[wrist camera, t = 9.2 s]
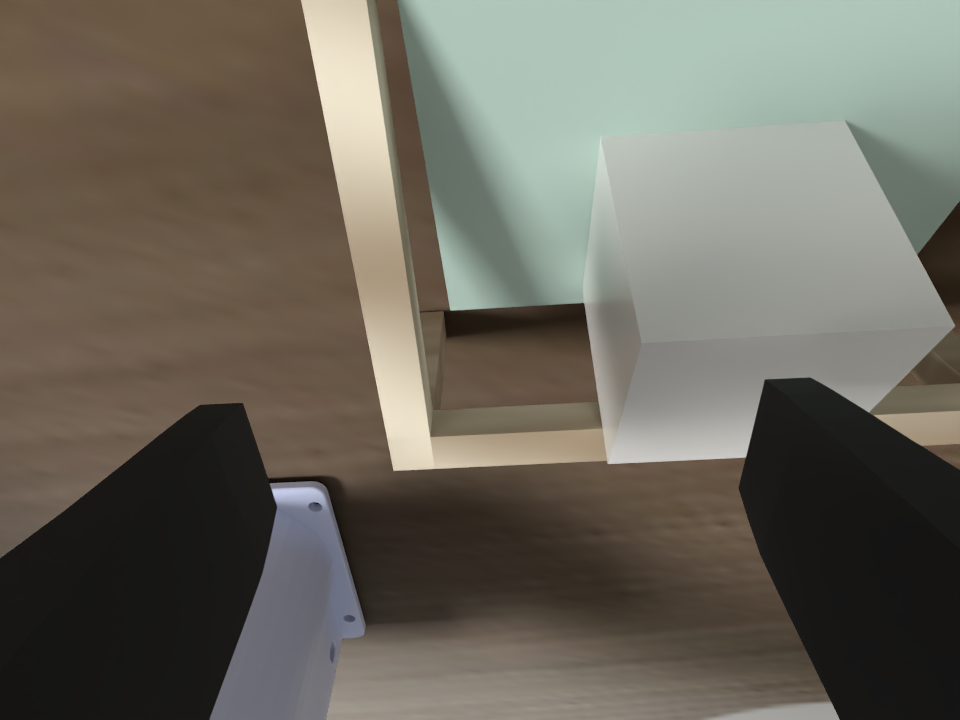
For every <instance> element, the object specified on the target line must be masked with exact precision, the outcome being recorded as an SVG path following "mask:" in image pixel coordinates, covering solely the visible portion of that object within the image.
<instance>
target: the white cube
mask: <svg viewBox="0 0 960 720" xmlns="http://www.w3.org/2000/svg"><path fill="white" fill-rule="evenodd" d="M582 290H583V297H584V304H585V310H586V317H587V324H588V331H589V338H590V345H591V352H592V359H593V365H594V372H595V379H596V386H597V393H598V400H599V407H600V414H601V420H602V427H603V434H604V441H605V448H606V455H607V462H608V464H617V463H638V462H659V461H680V460H701V459H722V458H743V457H746V455H747V451H748V447H749V443H750V439H751V435H752V430H753V426H754V422H755V418H756V414H757V410H758V405H759V401H760V397H761V393H762V389H763V385H764V380H765V379H785V378H807V377H811V378H812V379H814V380H816V381H818V382H820V383H822V384H823V385H825V386H827V387H829V388H830V389H832V390H834V391H835V392H837V393H839V394H840V395H842V396H843V397H845V398H847V399H848V400H850V401H851V402H853V403H855V404H856V405H858V406H859V407H861V408H863V409H864V410H866V411H867V412H870V411H871V410H872V409H873V408H874V407H875V406H876V405H877V404H878V403H879V402H880V401H881V400H882V399H883V398H884V397H885V396H886V395H887V394H888V393H889V392H890V391H891V390H892V389H893V388H894V387H895V386H896V385H897V384H898V383H899V382H900V381H901V380H902V379H903V378H904V377H905V376H906V375H907V374H908V373H909V372H910V371H911V370H912V369H913V368H914V367H915V366H916V365H917V364H918V363H919V362H920V361H921V360H922V359H923V358H924V357H925V356H926V355H927V354H928V353H929V352H930V351H931V350H932V349H933V348H934V347H935V346H936V345H937V344H938V343H939V342H940V341H941V340H942V339H943V338H944V337H945V336H946V335H947V334H948V333H949V332H950V331H951V330H952V329H953V328H954V327H955V325H954V323H953V321H952V319H951V317H950V315H949V313H948V312H947V310H946V308H945V306H944V304H943V302H942V300H941V298H940V297H939V295H938V293H937V291H936V289H935V287H934V285H933V284H932V282H931V280H930V278H929V276H928V274H927V272H926V271H925V269H924V267H923V265H922V263H921V261H920V259H919V258H918V256H917V254H916V252H915V250H914V248H913V246H912V244H911V243H910V241H909V239H908V237H907V235H906V233H905V231H904V230H903V228H902V226H901V224H900V222H899V220H898V218H897V217H896V215H895V213H894V211H893V209H892V207H891V205H890V204H889V202H888V200H887V198H886V196H885V194H884V192H883V190H882V189H881V187H880V185H879V183H878V181H877V179H876V177H875V176H874V174H873V172H872V170H871V168H870V166H869V164H868V163H867V161H866V159H865V157H864V155H863V153H862V151H861V150H860V148H859V146H858V144H857V142H856V140H855V138H854V136H853V135H852V133H851V131H850V129H849V127H848V125H847V123H846V122H845V120H842V121H827V122H812V123H798V124H783V125H768V126H754V127H739V128H724V129H710V130H695V131H680V132H666V133H651V134H636V135H622V136H607V137H600V146H599V154H598V162H597V171H596V179H595V187H594V195H593V204H592V212H591V220H590V229H589V237H588V245H587V254H586V262H585V270H584V278H583V287H582Z"/></svg>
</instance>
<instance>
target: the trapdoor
mask: <svg viewBox="0 0 960 720" xmlns="http://www.w3.org/2000/svg"><path fill="white" fill-rule="evenodd" d="M397 1H398V7H399V13H400V19H401V24H402V30H403V36H404V42H405V48H406V54H407V59H408V65H409V71H410V77H411V83H412V89H413V95H414V100H415V106H416V112H417V118H418V124H419V130H420V135H421V141H422V147H423V153H424V159H425V165H426V171H427V176H428V182H429V188H430V194H431V200H432V206H433V211H434V217H435V223H436V229H437V235H438V241H439V247H440V252H441V258H442V264H443V270H444V276H445V282H446V287H447V293H448V299H449V305H450V311H451V310H469V309H486V308H503V307H521V306H538V305H555V304H572V303H584V297H583V290H582V287H583V278H584V270H585V262H586V254H587V245H588V237H589V229H590V220H591V212H592V204H593V195H594V187H595V179H596V171H597V162H598V154H599V146H600V137H607V136H622V135H636V134H651V133H666V132H680V131H695V130H710V129H724V128H739V127H754V126H768V125H783V124H798V123H812V122H827V121H842V120H845V122H846V123H847V125H848V127H849V129H850V131H851V133H852V135H853V136H854V138H855V140H856V142H857V144H858V146H859V148H860V150H861V151H862V153H863V155H864V157H865V159H866V161H867V163H868V164H869V166H870V168H871V170H872V172H873V174H874V176H875V177H876V179H877V181H878V183H879V185H880V187H881V189H882V190H883V192H884V194H885V196H886V198H887V200H888V202H889V204H890V205H891V207H892V209H893V211H894V213H895V215H896V217H897V218H898V220H899V222H900V224H901V226H902V228H903V230H904V231H905V233H906V235H907V237H908V239H909V241H910V243H911V244H912V246H913V248H914V250H915V252H916V254H918V253H919V252H920V251H921V249H922V248H923V247H924V246H925V244H926V243H927V242H928V240H929V239H930V238H931V237H932V235H933V234H934V233H935V232H936V230H937V229H938V228H939V227H940V225H941V224H942V223H943V222H944V220H945V219H946V218H947V216H948V215H949V214H950V213H951V211H952V210H953V209H954V208H955V206H956V205H957V204H958V203H959V201H960V0H397Z"/></svg>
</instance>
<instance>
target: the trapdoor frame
mask: <svg viewBox="0 0 960 720" xmlns="http://www.w3.org/2000/svg"><path fill="white" fill-rule="evenodd" d="M301 1H302V6H303V11H304V16H305V22H306V27H307V32H308V37H309V42H310V47H311V52H312V57H313V62H314V67H315V72H316V78H317V83H318V88H319V93H320V98H321V103H322V108H323V113H324V118H325V123H326V129H327V134H328V139H329V144H330V149H331V154H332V159H333V164H334V169H335V174H336V180H337V185H338V190H339V195H340V200H341V205H342V210H343V215H344V220H345V225H346V230H347V236H348V241H349V246H350V251H351V256H352V261H353V266H354V271H355V276H356V281H357V287H358V292H359V297H360V302H361V307H362V312H363V317H364V322H365V327H366V332H367V337H368V343H369V348H370V353H371V358H372V363H373V368H374V373H375V378H376V383H377V388H378V394H379V399H380V404H381V409H382V414H383V419H384V424H385V429H386V434H387V439H388V445H389V450H390V455H391V460H392V465H393V470H394V471H400V470H420V469H441V468H462V467H483V466H504V465H525V464H546V463H567V462H588V461H607V455H606V448H605V441H604V434H603V427H602V420H601V414H600V407H599V402H588V403H568V404H549V405H529V406H510V407H491V408H471V409H452V410H440V405H441V394H442V383H443V372H444V361H445V350H446V339H447V338H446V329H445V320H444V312H443V311H437V312H420V313H419V306H418V298H417V291H416V284H415V277H414V270H413V262H412V255H411V248H410V241H409V233H408V226H407V219H406V212H405V205H404V197H403V190H402V183H401V176H400V168H399V161H398V154H397V147H396V139H395V132H394V125H393V118H392V111H391V103H390V96H389V89H388V82H387V74H386V67H385V60H384V53H383V46H382V38H381V31H380V24H379V17H378V9H377V2H376V0H301ZM910 373H911V374H912V375H913V376H914V377H915V378H916V379H917V380H918V381H919V382H920V383H921V384H922V385H918V386H898V387H894V388H893V389H892V390H891V391H890V392H889V393H888V394H887V395H886V396H885V397H884V398H883V399H882V400H881V401H880V402H879V403H878V404H877V405H876V406H875V407H874V408H873V409H872V410H871V411H870V412H869V413H870V414H872V415H874V416H875V417H877V418H878V419H880V420H881V421H883V422H884V423H886V424H888V425H889V426H891V427H892V428H894V429H895V430H897V431H899V432H900V433H902V434H903V435H905V436H906V437H908V438H909V439H911V440H913V441H914V442H916V443H917V444H919V445H920V446H922V445H943V444H960V338H959V337H958V336H957V335H956V334H954V333H953V332H952V331H950V332H949V333H948V334H947V335H946V336H945V337H944V338H943V339H942V340H941V341H940V342H939V343H938V344H937V345H936V346H935V347H934V348H933V349H932V350H931V351H930V352H929V353H928V354H927V355H926V356H925V357H924V358H923V359H922V360H921V361H920V362H919V363H918V364H917V365H916V366H915V367H914V368H913V369H912V370H911V371H910Z"/></svg>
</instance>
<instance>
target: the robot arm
mask: <svg viewBox="0 0 960 720" xmlns="http://www.w3.org/2000/svg"><path fill="white" fill-rule="evenodd" d="M739 491H740V494H741V498H742V501H743V504H744V507H745V510H746V513H747V517H748V520H749V523H750V526H751V529H752V532H753V535H754V538H755V540H756V543H757V546H758V549H759V552H760V555H761V557H762V559H763V561H764V563H765V566H766V568H767V570H768V572H769V574H770V576H771V578H772V580H773V583H774V585H775V587H776V589H777V591H778V593H779V595H780V597H781V599H782V601H783V603H784V606H785V608H786V610H787V612H788V614H789V616H790V618H791V620H792V622H793V624H794V626H795V628H796V630H797V632H798V634H799V636H800V638H801V641H802V643H803V645H804V647H805V649H806V651H807V653H808V655H809V657H810V659H811V661H812V663H813V665H814V667H815V669H816V671H817V673H818V675H819V677H820V680H821V682H822V684H823V686H824V688H825V690H826V692H827V694H828V696H829V698H830V700H831V702H832V704H833V706H834V708H835V710H836V712H837V714H838V717H839V719H840V720H960V470H959V469H957V468H955V467H954V466H952V465H951V464H949V463H947V462H946V461H944V460H943V459H941V458H939V457H938V456H936V455H935V454H933V453H932V452H930V451H928V450H927V449H925V448H924V447H922V446H920V445H919V444H917V443H916V442H914V441H913V440H911V439H909V438H908V437H906V436H905V435H903V434H902V433H900V432H899V431H897V430H895V429H894V428H892V427H891V426H889V425H888V424H886V423H884V422H883V421H881V420H880V419H878V418H877V417H875V416H874V415H872V414H870V413H869V412H867V411H866V410H864V409H863V408H861V407H859V406H858V405H856V404H855V403H853V402H851V401H850V400H848V399H847V398H845V397H843V396H842V395H840V394H839V393H837V392H835V391H834V390H832V389H830V388H829V387H827V386H825V385H823V384H822V383H820V382H818V381H816V380H814V379H812V378H811V377H807V378H785V379H765V380H764V385H763V389H762V393H761V397H760V401H759V405H758V410H757V414H756V418H755V422H754V426H753V430H752V435H751V439H750V443H749V447H748V451H747V455H746V460H745V464H744V468H743V472H742V476H741V480H740V485H739ZM313 502H317V503H319V504H315V503H313ZM365 627H366V624H365V621H364V617H363V614H362V610H361V607H360V603H359V599H358V596H357V592H356V589H355V585H354V582H353V578H352V575H351V571H350V568H349V564H348V561H347V557H346V554H345V550H344V546H343V543H342V539H341V536H340V532H339V529H338V525H337V522H336V518H335V515H334V511H333V508H332V504H331V501H330V497H329V494H328V490H327V488H326V487H325V486H324V485H323V484H321V483H319V482H314V481H307V482H286V483H269V480H268V477H267V474H266V471H265V468H264V465H263V462H262V459H261V456H260V453H259V450H258V447H257V444H256V441H255V438H254V435H253V432H252V429H251V426H250V423H249V420H248V417H247V414H246V411H245V408H244V405H243V403H232V404H210V405H199V406H198V407H196V408H195V409H194V410H192V411H191V412H189V413H188V414H186V415H185V416H184V417H182V418H181V419H180V420H178V421H177V422H176V423H175V424H173V425H172V426H171V427H169V428H168V429H167V430H166V431H164V432H163V433H162V434H160V435H159V436H158V437H157V438H155V439H154V440H153V441H152V442H150V443H149V444H148V445H147V446H145V447H144V448H143V449H142V450H140V451H139V452H138V453H137V454H135V455H134V456H133V457H132V458H130V459H129V460H128V461H127V462H125V463H124V464H123V465H122V466H120V467H119V468H118V469H117V470H115V471H114V472H113V473H112V474H110V475H109V476H108V477H107V478H105V479H104V480H103V481H102V482H100V483H99V484H98V485H97V486H95V487H94V488H93V489H91V490H90V491H89V492H88V493H86V494H85V495H84V496H83V497H81V498H80V499H79V500H78V501H76V502H75V503H74V504H73V505H71V506H70V507H69V508H67V509H66V510H65V511H64V512H62V513H61V514H60V515H58V516H57V517H56V518H54V519H53V520H52V521H50V522H49V523H48V524H46V525H45V526H43V527H42V528H41V529H39V530H38V531H37V532H35V533H34V534H33V535H31V536H30V537H29V538H27V539H26V540H25V541H23V542H22V543H21V544H19V545H18V546H16V547H15V548H14V549H12V550H11V551H10V552H8V553H7V554H6V555H4V556H3V557H2V558H0V720H326V717H327V712H328V707H329V702H330V697H331V692H332V687H333V682H334V677H335V672H336V667H337V662H338V658H339V653H340V648H341V643H342V638H358V637H361V636H362V635H363V634H364V633H365Z"/></svg>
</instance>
